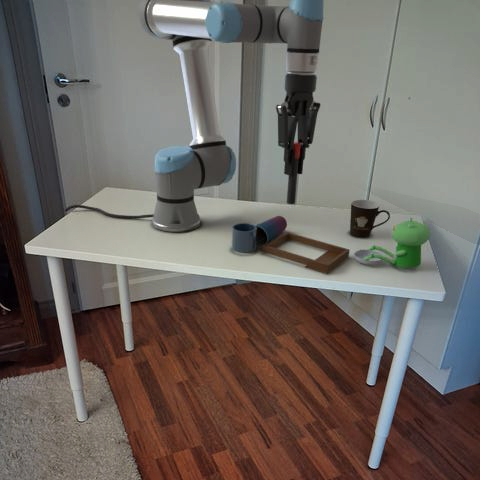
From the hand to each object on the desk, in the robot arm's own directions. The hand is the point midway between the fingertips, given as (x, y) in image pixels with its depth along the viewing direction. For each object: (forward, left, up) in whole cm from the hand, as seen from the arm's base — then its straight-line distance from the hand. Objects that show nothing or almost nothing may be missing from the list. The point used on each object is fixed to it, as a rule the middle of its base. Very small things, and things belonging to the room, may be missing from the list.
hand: (293, 173), depth 125 cm
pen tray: (+5, +3, -23) cm, 24 cm away
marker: (0, 0, -8) cm, 8 cm away
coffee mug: (+12, +29, -23) cm, 39 cm away
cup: (-10, +14, -20) cm, 27 cm away
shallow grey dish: (+20, +14, -25) cm, 35 cm away
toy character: (+26, +14, -23) cm, 38 cm away
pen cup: (-11, -5, -23) cm, 26 cm away
